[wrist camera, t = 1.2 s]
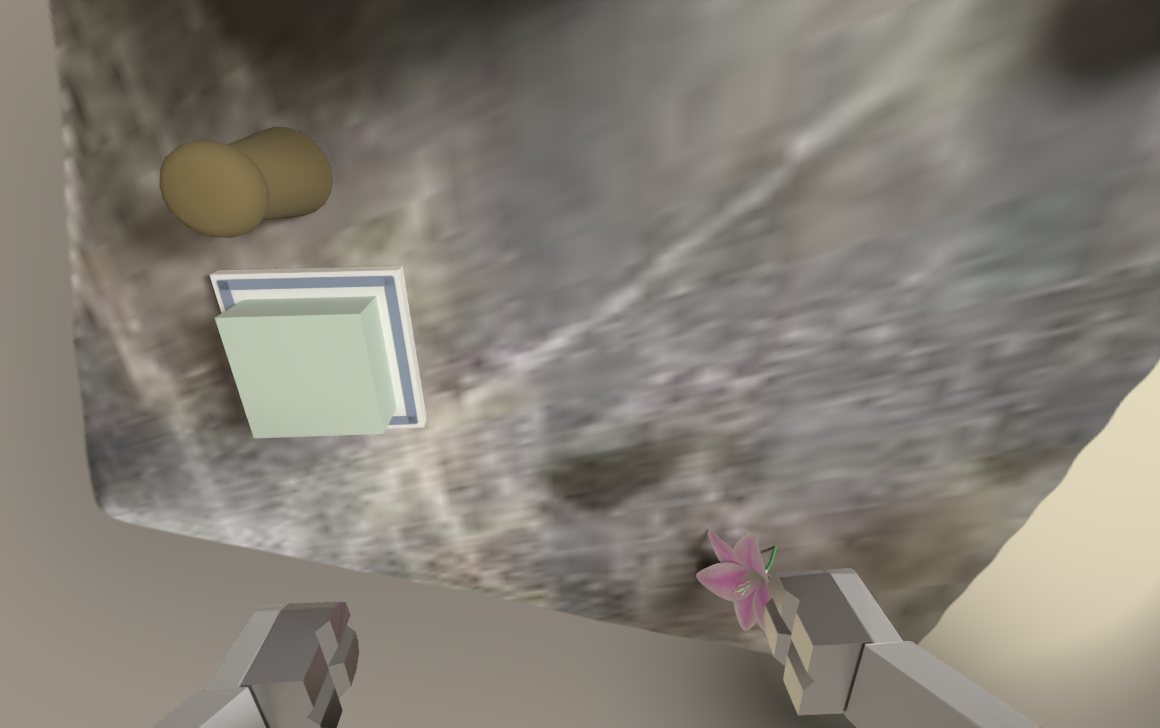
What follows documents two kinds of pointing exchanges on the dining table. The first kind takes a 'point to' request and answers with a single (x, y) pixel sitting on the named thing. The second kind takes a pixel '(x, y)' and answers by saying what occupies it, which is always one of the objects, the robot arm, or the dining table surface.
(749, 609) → the lily
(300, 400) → the butter dish
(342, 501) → the dining table surface
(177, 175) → the cork
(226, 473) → the dining table surface
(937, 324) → the dining table surface
